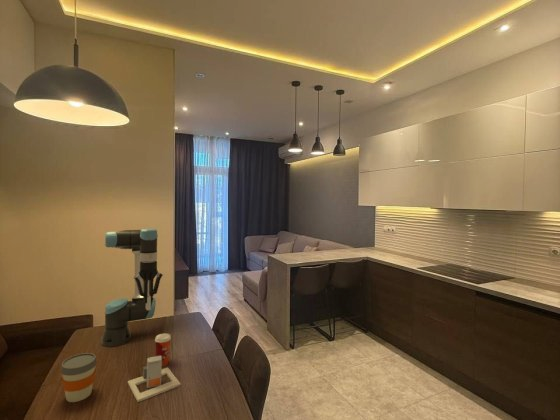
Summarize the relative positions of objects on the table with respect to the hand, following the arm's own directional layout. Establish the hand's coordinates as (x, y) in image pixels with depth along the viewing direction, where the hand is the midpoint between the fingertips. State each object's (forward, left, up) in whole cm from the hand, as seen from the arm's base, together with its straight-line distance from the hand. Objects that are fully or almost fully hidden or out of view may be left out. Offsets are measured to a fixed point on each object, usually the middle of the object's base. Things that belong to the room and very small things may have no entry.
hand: (148, 309), depth 144 cm
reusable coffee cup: (+1, -28, -31) cm, 41 cm away
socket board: (+13, -1, -30) cm, 33 cm away
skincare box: (+13, -1, -31) cm, 33 cm away
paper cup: (-2, +8, -31) cm, 32 cm away
